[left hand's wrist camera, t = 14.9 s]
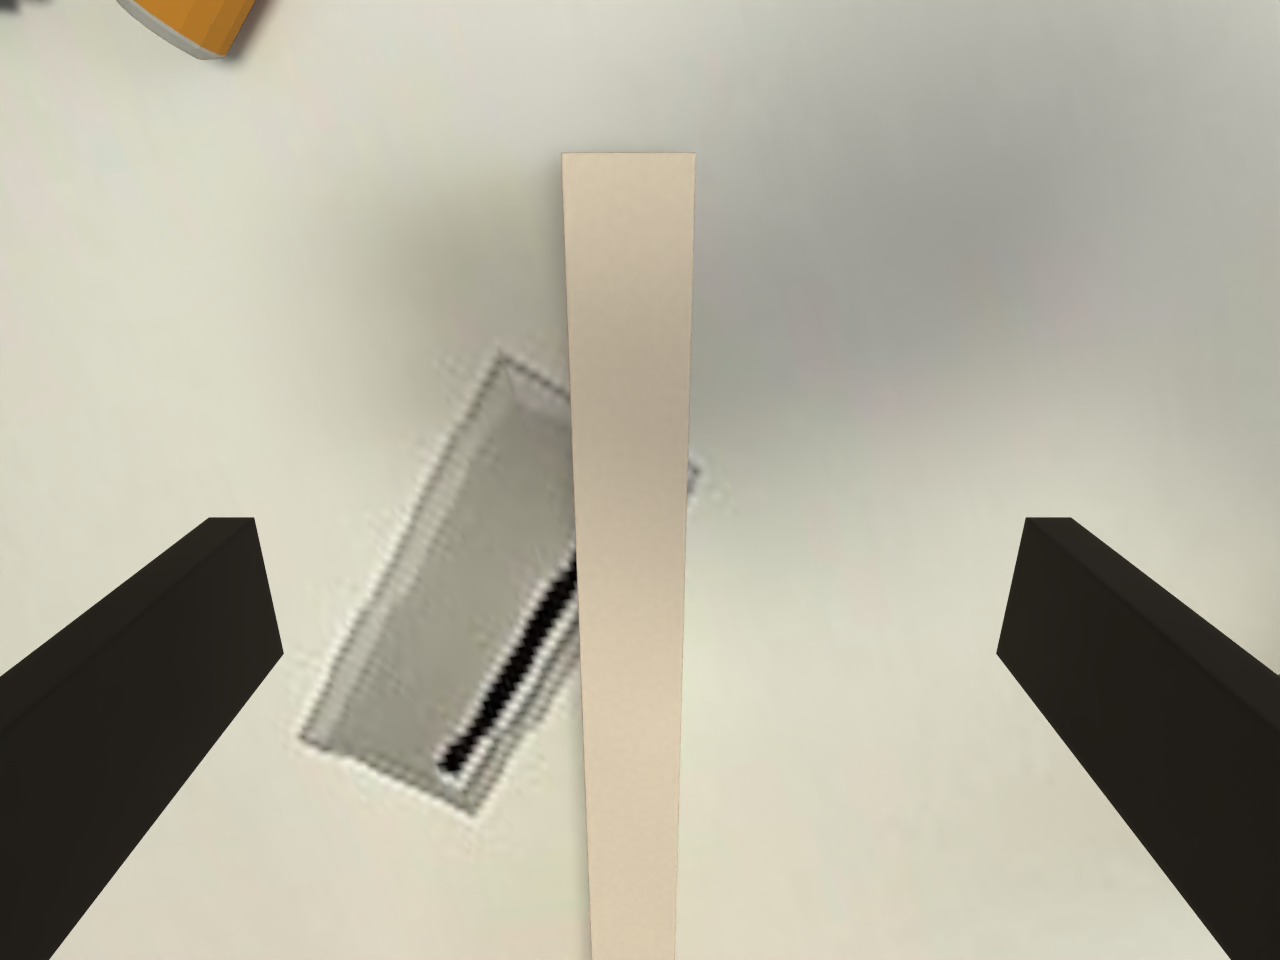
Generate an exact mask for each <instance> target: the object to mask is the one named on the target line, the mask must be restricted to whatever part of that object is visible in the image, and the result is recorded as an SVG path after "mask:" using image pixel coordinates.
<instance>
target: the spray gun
mask: <svg viewBox="0 0 1280 960" xmlns="http://www.w3.org/2000/svg"><path fill="white" fill-rule="evenodd" d="M117 2H118V3H119V4H120V6H121V7H123V8H124V9H125V10H126V11H127V12H128V13H129V14H130V15H131V16H133V17H134V18H135V19H136V20H138V21H139V22H140V23H142V24H143V25H144V26H145V27H147V28H148V29H149V30H151V31H152V32H154V33H155V34H157V35H158V36H160V37H161V38H163V39H164V40H166V41H167V42H169V43H170V44H172V45H174V46H175V47H177V48H179V49H181V50H182V51H184V52H186V53H188V54H190V55H191V56H193V57H195V58H197V59H202V60H209V59H220V58H223V57H225V56H226V54H227V52H228V50H229V48H230V46H231V45H232V43H233V41H234V39H235V37H236V35H237V33H238V32H239V30H240V28H241V26H242V24H243V22H244V20H245V19H246V17H247V15H248V13H249V11H250V9H251V7H252V6H253V4H254V2H255V0H117Z"/></svg>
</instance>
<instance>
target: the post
mask: <svg viewBox="0 0 1280 960" xmlns="http://www.w3.org/2000/svg"><path fill="white" fill-rule="evenodd" d="M561 167H562V193H563V220H564V246H565V272H566V298H567V324H568V351H569V377H570V403H571V429H572V455H573V482H574V508H575V534H576V560H577V586H578V613H579V639H580V665H581V691H582V717H583V744H584V770H585V796H586V822H587V848H588V875H589V901H590V927H591V953H592V960H675V930H676V892H677V854H678V816H679V778H680V740H681V702H682V664H683V627H684V589H685V551H686V513H687V475H688V437H689V399H690V361H691V323H692V285H693V247H694V209H695V171H696V153H561Z"/></svg>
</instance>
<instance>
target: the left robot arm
mask: <svg viewBox="0 0 1280 960" xmlns="http://www.w3.org/2000/svg"><path fill="white" fill-rule="evenodd" d="M283 654H284V652H283V648H282V643H281V639H280V634H279V630H278V625H277V620H276V616H275V611H274V607H273V602H272V597H271V593H270V588H269V584H268V579H267V574H266V570H265V565H264V561H263V556H262V551H261V547H260V542H259V538H258V533H257V529H256V524H255V519H254V518H208V519H206V520H205V521H204V522H203V523H201V524H200V525H199V526H197V527H196V528H195V529H193V530H192V531H191V532H189V533H188V534H187V535H185V536H184V537H183V538H182V539H180V540H179V541H178V542H176V543H175V544H174V545H172V546H171V547H170V548H168V549H167V550H166V551H165V552H163V553H162V554H161V555H159V556H158V557H157V558H155V559H154V560H153V561H151V562H150V563H149V564H147V565H146V566H145V567H144V568H142V569H141V570H140V571H138V572H137V573H136V574H134V575H133V576H132V577H130V578H129V579H128V580H126V581H125V582H124V583H123V584H121V585H120V586H119V587H117V588H116V589H115V590H113V591H112V592H111V593H109V594H108V595H107V596H106V597H104V598H103V599H102V600H100V601H99V602H98V603H96V604H95V605H94V606H92V607H91V608H90V609H88V610H87V611H86V612H85V613H83V614H82V615H81V616H79V617H78V618H77V619H75V620H74V621H73V622H71V623H70V624H69V625H67V626H66V627H65V628H64V629H62V630H61V631H60V632H58V633H57V634H56V635H54V636H53V637H52V638H50V639H49V640H48V641H47V642H45V643H44V644H43V645H41V646H40V647H39V648H37V649H36V650H35V651H33V652H32V653H31V654H29V655H28V656H27V657H26V658H24V659H23V660H22V661H20V662H19V663H18V664H16V665H15V666H14V667H12V668H11V669H10V670H8V671H7V672H6V673H5V674H3V675H2V676H1V677H0V960H49V959H50V958H51V956H52V955H53V954H54V953H55V951H56V950H57V949H58V947H59V946H60V945H61V943H62V942H63V941H64V939H65V938H66V937H67V936H68V934H69V933H70V932H71V930H72V929H73V928H74V926H75V925H76V924H77V923H78V921H79V920H80V919H81V917H82V916H83V915H84V913H85V912H86V911H87V909H88V908H89V907H90V906H91V904H92V903H93V902H94V900H95V899H96V898H97V896H98V895H99V894H100V893H101V891H102V890H103V889H104V887H105V886H106V885H107V883H108V882H109V881H110V879H111V878H112V877H113V876H114V874H115V873H116V872H117V870H118V869H119V868H120V866H121V865H122V864H123V863H124V861H125V860H126V859H127V857H128V856H129V855H130V853H131V852H132V851H133V850H134V848H135V847H136V846H137V844H138V843H139V842H140V840H141V839H142V838H143V836H144V835H145V834H146V833H147V831H148V830H149V829H150V827H151V826H152V825H153V823H154V822H155V821H156V820H157V818H158V817H159V816H160V814H161V813H162V812H163V810H164V809H165V808H166V806H167V805H168V804H169V803H170V801H171V800H172V799H173V797H174V796H175V795H176V793H177V792H178V791H179V790H180V788H181V787H182V786H183V784H184V783H185V782H186V780H187V779H188V778H189V776H190V775H191V774H192V773H193V771H194V770H195V769H196V767H197V766H198V765H199V763H200V762H201V761H202V760H203V758H204V757H205V756H206V754H207V753H208V752H209V750H210V749H211V748H212V746H213V745H214V744H215V743H216V741H217V740H218V739H219V737H220V736H221V735H222V733H223V732H224V731H225V730H226V728H227V727H228V726H229V724H230V723H231V722H232V720H233V719H234V718H235V716H236V715H237V714H238V713H239V711H240V710H241V709H242V707H243V706H244V705H245V703H246V702H247V701H248V700H249V698H250V697H251V696H252V694H253V693H254V692H255V690H256V689H257V688H258V686H259V685H260V684H261V683H262V681H263V680H264V679H265V677H266V676H267V675H268V673H269V672H270V671H271V670H272V668H273V667H274V666H275V664H276V663H277V662H278V660H279V659H280V658H281V656H282V655H283ZM996 654H997V655H998V656H999V658H1000V659H1001V660H1002V662H1003V663H1004V664H1005V666H1006V667H1007V668H1008V670H1009V671H1010V672H1011V673H1012V675H1013V676H1014V677H1015V679H1016V680H1017V681H1018V683H1019V684H1020V685H1021V686H1022V688H1023V689H1024V690H1025V692H1026V693H1027V694H1028V696H1029V697H1030V698H1031V700H1032V701H1033V702H1034V703H1035V705H1036V706H1037V707H1038V709H1039V710H1040V711H1041V713H1042V714H1043V715H1044V716H1045V718H1046V719H1047V720H1048V722H1049V723H1050V724H1051V726H1052V727H1053V728H1054V730H1055V731H1056V732H1057V733H1058V735H1059V736H1060V737H1061V739H1062V740H1063V741H1064V743H1065V744H1066V745H1067V746H1068V748H1069V749H1070V750H1071V752H1072V753H1073V754H1074V756H1075V757H1076V758H1077V760H1078V761H1079V762H1080V763H1081V765H1082V766H1083V767H1084V769H1085V770H1086V771H1087V773H1088V774H1089V775H1090V776H1091V778H1092V779H1093V780H1094V782H1095V783H1096V784H1097V786H1098V787H1099V788H1100V790H1101V791H1102V792H1103V793H1104V795H1105V796H1106V797H1107V799H1108V800H1109V801H1110V803H1111V804H1112V805H1113V806H1114V808H1115V809H1116V810H1117V812H1118V813H1119V814H1120V816H1121V817H1122V818H1123V820H1124V821H1125V822H1126V823H1127V825H1128V826H1129V827H1130V829H1131V830H1132V831H1133V833H1134V834H1135V835H1136V836H1137V838H1138V839H1139V840H1140V842H1141V843H1142V844H1143V846H1144V847H1145V848H1146V849H1147V851H1148V852H1149V853H1150V855H1151V856H1152V857H1153V859H1154V860H1155V861H1156V863H1157V864H1158V865H1159V866H1160V868H1161V869H1162V870H1163V872H1164V873H1165V874H1166V876H1167V877H1168V878H1169V879H1170V881H1171V882H1172V883H1173V885H1174V886H1175V887H1176V889H1177V890H1178V891H1179V893H1180V894H1181V895H1182V896H1183V898H1184V899H1185V900H1186V902H1187V903H1188V904H1189V906H1190V907H1191V908H1192V909H1193V911H1194V912H1195V913H1196V915H1197V916H1198V917H1199V919H1200V920H1201V921H1202V923H1203V924H1204V925H1205V926H1206V928H1207V929H1208V930H1209V932H1210V933H1211V934H1212V936H1213V937H1214V938H1215V939H1216V941H1217V942H1218V943H1219V945H1220V946H1221V947H1222V949H1223V950H1224V951H1225V953H1226V954H1227V955H1228V956H1229V958H1230V959H1231V960H1280V675H1277V674H1275V673H1274V672H1273V671H1272V670H1270V669H1269V668H1268V667H1266V666H1265V665H1264V664H1262V663H1261V662H1260V661H1258V660H1257V659H1256V658H1254V657H1253V656H1252V655H1251V654H1249V653H1248V652H1247V651H1245V650H1244V649H1243V648H1241V647H1240V646H1239V645H1237V644H1236V643H1235V642H1233V641H1232V640H1231V639H1230V638H1228V637H1227V636H1226V635H1224V634H1223V633H1222V632H1220V631H1219V630H1218V629H1216V628H1215V627H1214V626H1213V625H1211V624H1210V623H1209V622H1207V621H1206V620H1205V619H1203V618H1202V617H1201V616H1199V615H1198V614H1197V613H1195V612H1194V611H1193V610H1192V609H1190V608H1189V607H1188V606H1186V605H1185V604H1184V603H1182V602H1181V601H1180V600H1178V599H1177V598H1176V597H1174V596H1173V595H1172V594H1171V593H1169V592H1168V591H1167V590H1165V589H1164V588H1163V587H1161V586H1160V585H1159V584H1157V583H1156V582H1155V581H1154V580H1152V579H1151V578H1150V577H1148V576H1147V575H1146V574H1144V573H1143V572H1142V571H1140V570H1139V569H1138V568H1136V567H1135V566H1134V565H1133V564H1131V563H1130V562H1129V561H1127V560H1126V559H1125V558H1123V557H1122V556H1121V555H1119V554H1118V553H1117V552H1115V551H1114V550H1113V549H1112V548H1110V547H1109V546H1108V545H1106V544H1105V543H1104V542H1102V541H1101V540H1100V539H1098V538H1097V537H1096V536H1095V535H1093V534H1092V533H1091V532H1089V531H1088V530H1087V529H1085V528H1084V527H1083V526H1081V525H1080V524H1079V523H1077V522H1076V521H1075V520H1074V519H1072V518H1026V519H1025V524H1024V529H1023V533H1022V538H1021V542H1020V547H1019V551H1018V556H1017V561H1016V565H1015V570H1014V574H1013V579H1012V584H1011V588H1010V593H1009V597H1008V602H1007V607H1006V611H1005V616H1004V620H1003V625H1002V630H1001V634H1000V639H999V643H998V648H997V652H996Z"/></svg>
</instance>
